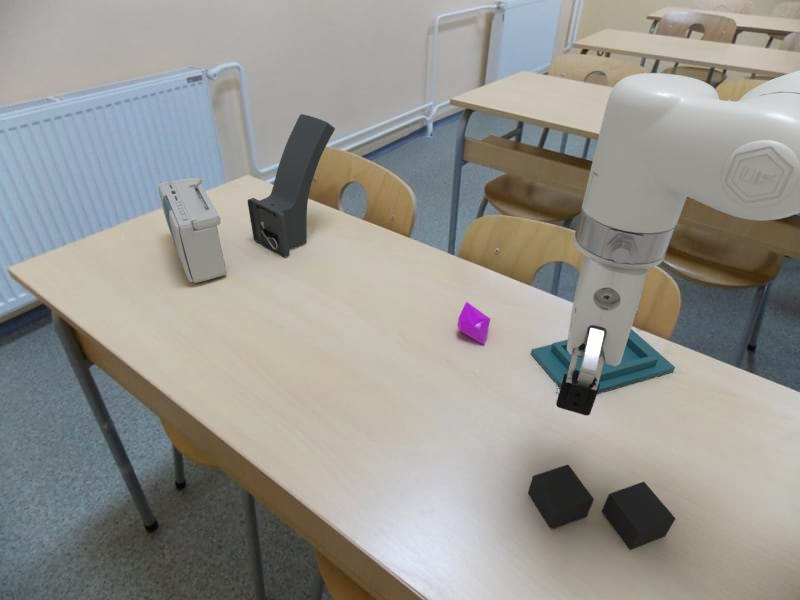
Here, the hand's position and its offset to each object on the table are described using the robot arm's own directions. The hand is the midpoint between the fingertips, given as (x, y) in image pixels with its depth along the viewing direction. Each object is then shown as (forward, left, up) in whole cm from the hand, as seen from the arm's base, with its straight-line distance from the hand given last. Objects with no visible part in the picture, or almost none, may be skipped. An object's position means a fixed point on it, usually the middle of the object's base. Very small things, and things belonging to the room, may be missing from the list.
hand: (578, 377), depth 54 cm
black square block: (-3, +1, -18) cm, 18 cm away
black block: (-8, -6, -18) cm, 21 cm away
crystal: (+29, -4, -18) cm, 34 cm away
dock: (+16, -20, -18) cm, 31 cm away
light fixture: (+72, +17, -18) cm, 76 cm away
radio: (+69, +38, -18) cm, 80 cm away
